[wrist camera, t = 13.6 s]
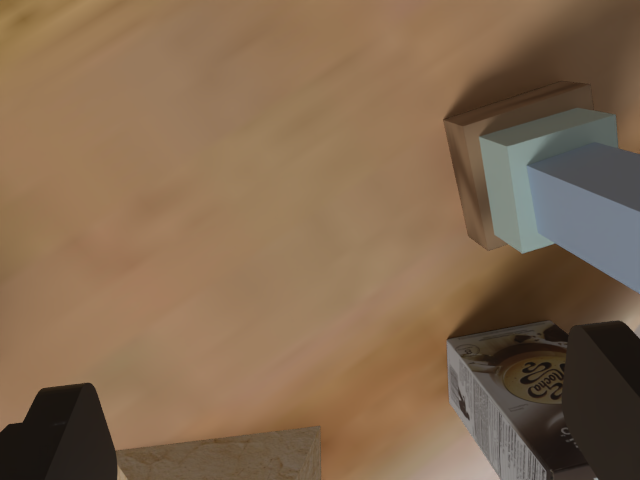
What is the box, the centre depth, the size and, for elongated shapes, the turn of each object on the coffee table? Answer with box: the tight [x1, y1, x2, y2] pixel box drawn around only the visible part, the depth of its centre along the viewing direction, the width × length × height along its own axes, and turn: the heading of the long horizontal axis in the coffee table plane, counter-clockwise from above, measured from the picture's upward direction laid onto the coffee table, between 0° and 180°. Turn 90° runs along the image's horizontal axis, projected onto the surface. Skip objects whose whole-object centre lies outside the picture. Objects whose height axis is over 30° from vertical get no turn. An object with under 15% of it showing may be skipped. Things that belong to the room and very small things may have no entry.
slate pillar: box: [527, 142, 640, 294], centre depth 32 cm, size 4×4×11 cm
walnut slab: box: [443, 81, 594, 251], centre depth 43 cm, size 9×9×4 cm
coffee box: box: [447, 320, 598, 480], centre depth 42 cm, size 9×6×16 cm
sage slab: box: [479, 108, 618, 254], centre depth 39 cm, size 7×7×4 cm
